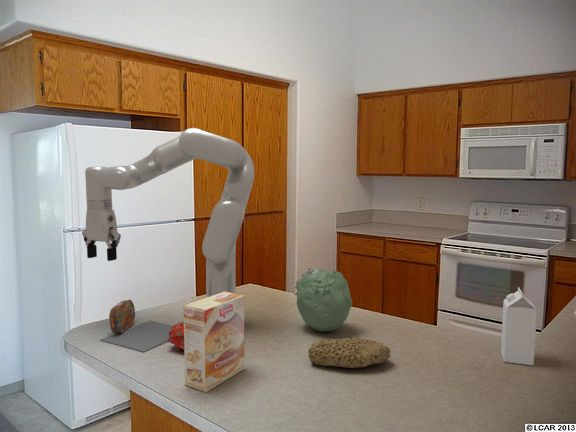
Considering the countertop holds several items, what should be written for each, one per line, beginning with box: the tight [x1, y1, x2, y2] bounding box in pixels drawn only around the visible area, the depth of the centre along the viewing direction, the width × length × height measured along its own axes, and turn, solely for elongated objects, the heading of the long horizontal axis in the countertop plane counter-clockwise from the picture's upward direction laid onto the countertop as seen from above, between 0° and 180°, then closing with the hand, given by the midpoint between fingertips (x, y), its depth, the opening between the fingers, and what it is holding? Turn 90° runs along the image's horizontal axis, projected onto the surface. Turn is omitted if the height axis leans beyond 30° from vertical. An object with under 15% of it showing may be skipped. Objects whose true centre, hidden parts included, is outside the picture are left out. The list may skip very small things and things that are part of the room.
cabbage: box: [293, 267, 353, 332], centre depth 144 cm, size 16×19×20 cm
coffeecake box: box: [183, 292, 246, 393], centre depth 111 cm, size 15×7×20 cm, turn 148°
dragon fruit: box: [167, 321, 184, 352], centre depth 129 cm, size 8×8×12 cm
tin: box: [108, 299, 136, 334], centre depth 145 cm, size 15×3×8 cm, turn 179°
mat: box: [99, 319, 174, 353], centre depth 140 cm, size 18×20×1 cm
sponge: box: [308, 337, 391, 369], centre depth 119 cm, size 13×8×20 cm
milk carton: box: [500, 286, 538, 366], centre depth 122 cm, size 7×7×19 cm
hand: (102, 258), depth 147 cm, fingers open, 9 cm apart
